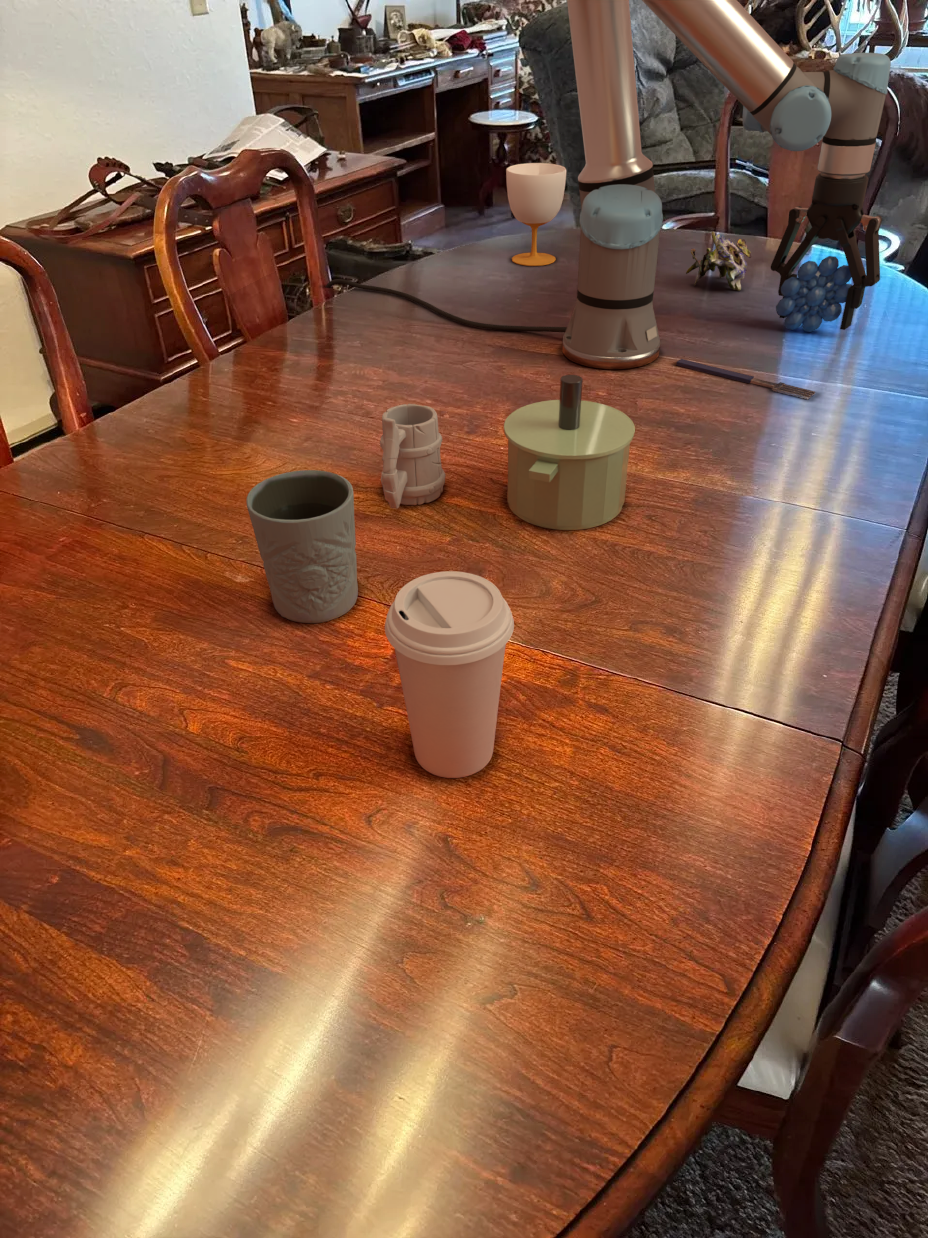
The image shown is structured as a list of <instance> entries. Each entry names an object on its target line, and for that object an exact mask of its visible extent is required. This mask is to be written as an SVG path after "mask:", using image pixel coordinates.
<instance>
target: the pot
mask: <svg viewBox="0 0 928 1238" xmlns="http://www.w3.org/2000/svg"><path fill="white" fill-rule="evenodd" d="M630 449H631V443H630V444H628V445H627V446H626V447H625V448H623V449H621V450H619V451H617V452H615V453H612V454H609V455H606V456H602V457H596V458H590V459H575V460H572V459H555V458H548V457H543V456H538V455H535V454H532V453H529V452H526V451H524V450H522V449H520V448H518V447H516V446H515V445H513V444H512V443H511V442H510V441H509V440H508V439H507V473H506V474H507V475H506V476H507V477H506V479H507V480H506V484H507V485H506V487H507V488H506V491H507V493H506V495H507V497H506V499H507V505H508V507H509V509H510V510H511V512H512V513H513V514H514V515H515V516H517V517H518V518H519V519H521V520H523V521H524V522H526V523H529V524H531V525H533V526H537V527H540V528H545V529H550V530H557V531H578V530H587V529H592V528H595V527H599V526H602V525H604V524H607V523H609V522H611V521H612V520H614V519H615V518H617V516H619V514H620V513H621V512H622V509H623V507H624V503H625V502H626V501H625V499H626V490H627V481H628V480H627V479H628V471H629V468H628V467H629V460H630Z"/></svg>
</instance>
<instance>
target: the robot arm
mask: <svg viewBox="0 0 928 1238" xmlns="http://www.w3.org/2000/svg"><path fill="white" fill-rule="evenodd" d="M641 2H643V3H644V5H646V7H647V8H649V10H651V12H652V13H653V14H654V15H655V16H656V17H657V18H658V19H659V20H660V21H661V22H662V23H663V25H665V26H666V27H667V28H668V29H669V30H670V32H672V33H673V35H674V36H676V38H677V39H678V40H680V42H681V43H682V44H683V45H684V46H685V47H686V48H687V49H688V50H689V51H690V52H691V53H692V54H693V56H695V57H696V58H697V59H698V61H700V62H701V64H702V65H704V67H705V68H707V69H708V71H709V72H710V73H711V74H712V75H713V76H714V77H715V78H716V79H717V80H718V81H719V82H720V83H721V84H722V85H723V86H724V88H726V89H727V90H728V91H729V92H730V93H731V95H733V97H735V98H736V100H737V101H738V102H739V104H741V105H742V126H743V129H744V130H746V131H748V132H759V133H765V132H767V133H769V134H770V136H771V138H772V140H773V141H774V143H776V144H777V146H779V147H780V148H782V149H784V150H786V151H790V152H802V151H806V150H808V149H811V148H813V147H814V146H816V145H817V144H818V143H819V142H820V141H821V147H820V152H819V157H818V161H817V167H816V168H817V171H818V172H819V173H818V174H817V175H816V176H815V179H814V185H813V190H812V191H813V192H812V197H811V203H810V205H809V207H802V206H801V205H797V206H795V207H793V208H791V209H790V210H789V211H788V221H787V226H786V228H785V231H784V233H783V236H782V238H781V240H780V242H779V245H778V248H777V250H776V251H775V255H774V257H773V259H772V262H771V263H770V270H771V271H772V272H776V273H778V274H779V275H780V278H779V279H780V280H779V286H778V290H777V292H778V293H777V294H778V296H779V297H780V296H781V297H782V298H784V297H786V296H783V294H782V293H781V286H782V285H783V283H784V282H785V280H787V279H789V278H791V277H796V278H798V273H796V274H795V273H794V272H795V269H796V268H797V267H798V265H799V264H800V262H801V261H802V260H803V258H804V257H805V256H806V254H807V253H808V252H809V251H810V249H811V248H812V247H813V246H814V245H815V242H817V240H818V239H821V240H825V239H829V240H831V241H835V242H838V241H839V244H840V246H841V248H842V249H843V253H844V257H845V260H846V263H847V265H848V267H849V270H850V273H851V280H852V283H853V284H852V286H851V287H850V288H848V293H847V298H846V302H845V303H844V308H843V311H842V312H843V313H842V317H841V323H840V327H839V329H840V330H842V331H845V330H847V329H848V328H849V327H851V326H852V322H853V318H854V312H855V309H856V310H857V309H859V308H860V307H861V306H862V304H863V300H864V295H865V290H866V288H867V287H873V286H874V285H876V284H877V283H878V282H880V280H881V264H880V262H881V261H880V233H879V232H880V228H881V225H882V222H883V217H882V216H881V215H880V214H879V215H876V216H872V215H867V214H865V212H864V208H863V207H864V203H865V198H866V193H867V188H868V184H869V177H868V175H867V173H869V172H871V167H872V162H873V158H874V154H875V149H876V144H877V137H878V133H879V128H880V123H881V118H882V115H883V109H884V105H885V101H886V97H887V95H888V86H889V81H890V80H889V79H890V73H891V66H892V63H891V59H890V57H889V56H888V55H886V54H884V53H880V52H879V53H878V52H853V53H843V54H840V55H839V56H838V57H837V58H836V61H835V64H834V66H833V69H831V70H830V69H829V70H825V71H824V70H823V71H803V70H802V69H801V68H799V66H797V65H796V64H795V62H794V60H793V59H791V57H790V56H789V55H788V54H787V53H786V52H785V51H784V50H783V49H782V48H781V46H779V44H778V43H777V42H776V41H775V39H773V38H772V37H771V36H770V35H769V33H767V32H766V30H765V29H764V28H763V26H761V25H760V24H759V22H758V21H757V20H756V19H755V18H754V16H752V15H751V14H750V13H749V11H747V10H746V9H745V7H744V6H743V5H742V4H741V3H740V2H739V1H738V0H641ZM566 4H567V12H568V21H569V30H570V38H571V47H572V55H573V65H574V72H575V82H576V90H577V98H578V99H577V100H578V106H579V107H578V108H579V115H580V124H581V125H580V126H581V134H582V141H583V142H582V143H583V150H584V159H585V165H584V167H583V168H582V170H581V172H580V173H579V174H578V176H577V183H578V191H579V199H580V200H579V201H580V209H581V210H580V213H579V226H580V231H579V232H580V233H579V248H578V249H579V250H578V251H579V252H578V267H577V268H578V269H577V284H576V286H577V287H576V301H575V305H574V308H573V310H572V314H571V316H570V318H569V322H568V324H567V326H544V325H543V326H541V325H540V326H535V325H534V326H530V325H529V326H526V325H507V324H506V325H505V324H492V323H484V322H479V321H473V320H468V319H465V318H462V317H460V316H457V315H454V314H452V313H450V312H446V311H445V310H442V309H440V308H438V307H437V306H435V305H433V304H431V303H430V302H427V301H425V300H422V299H420V298H418V297H416V296H413V295H412V294H409V293H405V292H403V291H400V290H396V289H392V288H387V287H381V286H375V285H369V284H363V283H362V284H361V283H358V282H355V281H351V280H348V279H344V278H334V279H332V280H330V281H329V282H328V283H327V284H325V287H324V288H326V289H330V288H331V287H332V286H334V285H337V284H343V285H347V286H350V287H353V288H356V289H360V290H366V291H372V292H378V293H384V294H390V295H394V296H397V297H401V298H404V299H406V300H409V301H412V302H414V303H416V304H418V305H420V306H422V307H424V308H426V309H428V310H431V311H432V312H434V313H435V314H437V315H439V316H442V317H443V318H446V319H448V320H451V321H453V322H456V323H459V324H462V325H465V326H469V327H472V328H473V327H474V328H479V329H484V330H492V331H494V330H495V331H506V332H507V331H508V332H509V331H511V332H528V333H529V332H533V333H534V332H535V333H538V332H541V333H542V332H543V333H547V332H548V333H563V334H564V335H563V337H562V353H563V355H564V357H565V358H567V359H568V360H570V361H571V362H574V363H575V364H578V365H581V366H584V367H585V366H586V367H589V368H595V369H603V370H626V369H627V370H628V369H634V368H639V367H642V366H646V365H648V364H651V363H652V362H654V361H656V360H657V359H658V357H659V355H660V350H661V338H660V334H659V329H658V324H657V319H656V315H655V310H654V305H653V304H654V303H653V302H654V295H655V283H656V275H657V265H658V255H659V245H660V238H661V237H660V236H661V228H662V226H663V220H664V215H663V203H662V200H661V198H660V196H659V195H658V194H657V193H656V189H655V188H656V187H655V175H654V163H653V161H652V160H650V158H648V157H647V156H645V155H644V153H643V152H642V140H641V139H642V138H641V128H640V117H639V115H640V114H639V105H638V92H637V81H636V71H635V70H636V68H635V57H634V46H633V45H634V44H633V34H632V21H631V20H632V19H631V9H630V0H566ZM806 217H807V219H808V222H809V224H810V226H811V228H810V229H809V230H808V232H807V234H805V236H804V239H803V240H802V241H801V243H800V244H799V245H798V246H797V248H796V250H795V251H794V252H793V253H792V255H791V256H790V258H789V259H788V260H787V258H788V255H789V253H790V251H791V248H792V246H793V243H794V242H795V239H796V237H797V235H798V232H799V230H800V227H801V224H802V223H803V222H804V221H805V219H806ZM860 224H861V225H862V230H863V232H864V233H865V234H864V250H865V254H864V255H865V267H864V263H863V260H862V256H861V253H860V250H859V245H858V242H857V234H856V231H855V229H856V228H857V227H858V226H859V225H860ZM786 260H787V262H786ZM785 262H786V263H785ZM778 317H779V319H782V320H783V319H784V320H785V318H786V317H787V315H786V316H781V315H779V316H778Z"/></svg>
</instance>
